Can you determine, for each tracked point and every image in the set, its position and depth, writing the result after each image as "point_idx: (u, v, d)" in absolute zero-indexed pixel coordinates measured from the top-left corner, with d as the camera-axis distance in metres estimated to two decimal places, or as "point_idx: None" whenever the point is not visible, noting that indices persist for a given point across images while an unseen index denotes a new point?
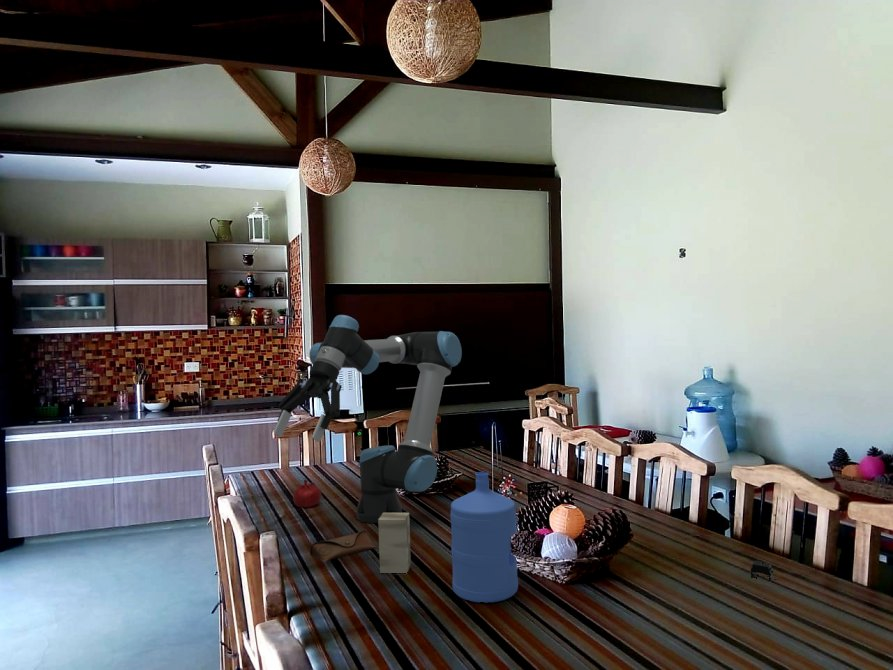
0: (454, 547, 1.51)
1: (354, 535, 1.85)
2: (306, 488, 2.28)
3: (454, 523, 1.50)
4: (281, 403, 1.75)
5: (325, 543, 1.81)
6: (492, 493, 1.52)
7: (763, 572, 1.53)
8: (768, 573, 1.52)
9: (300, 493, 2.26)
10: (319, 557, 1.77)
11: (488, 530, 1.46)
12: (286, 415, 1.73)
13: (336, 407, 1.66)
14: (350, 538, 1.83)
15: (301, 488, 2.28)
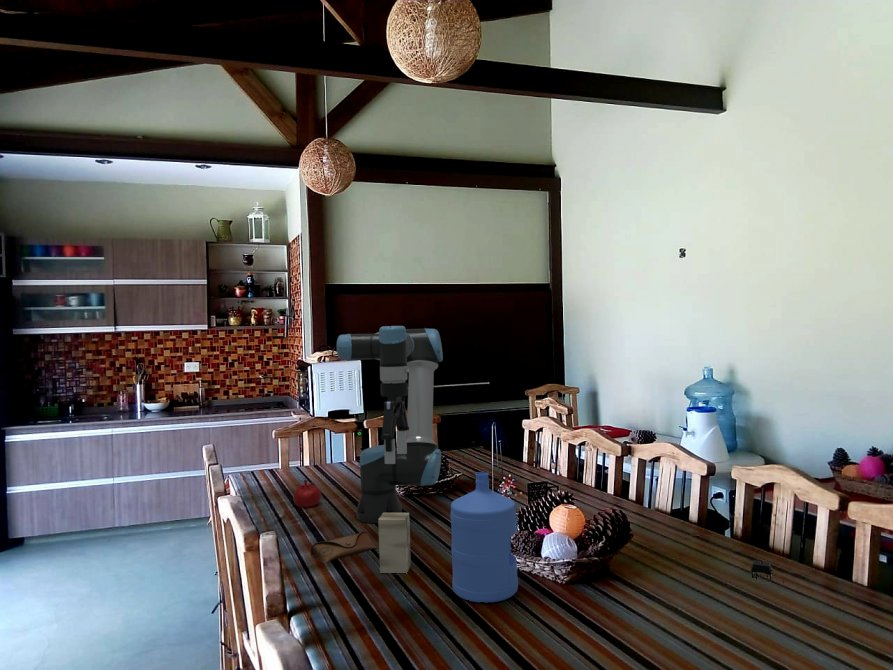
0: (454, 547, 1.51)
1: (355, 536, 1.85)
2: (306, 488, 2.28)
3: (454, 523, 1.50)
4: (391, 433, 1.69)
5: (326, 544, 1.80)
6: (492, 493, 1.52)
7: (764, 571, 1.53)
8: (769, 572, 1.53)
9: (300, 493, 2.26)
10: (320, 558, 1.76)
11: (488, 530, 1.46)
12: None
13: None
14: (351, 539, 1.83)
15: (301, 488, 2.28)
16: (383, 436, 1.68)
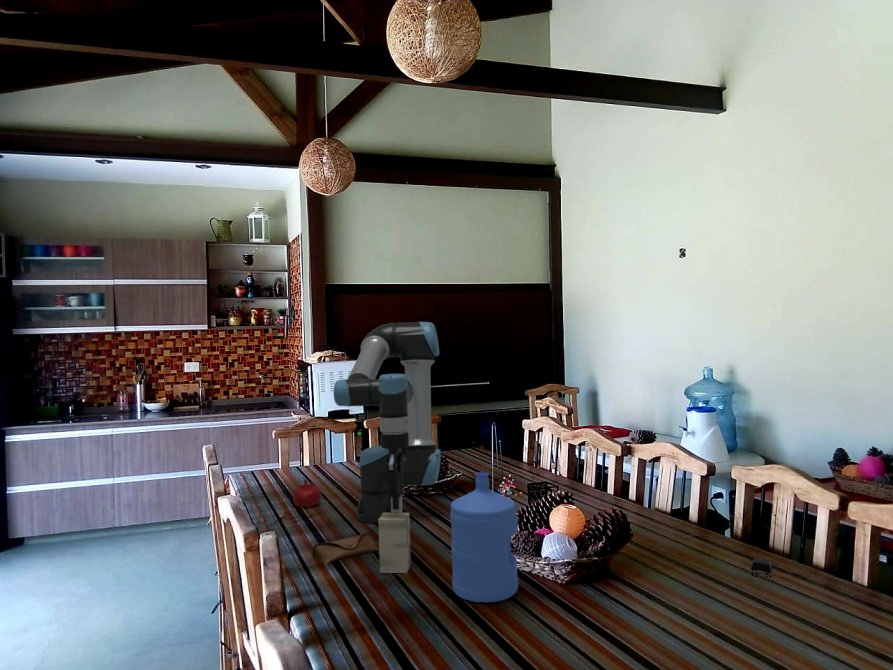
0: (454, 547, 1.51)
1: (357, 537, 1.84)
2: (306, 488, 2.28)
3: (454, 523, 1.50)
4: (398, 491, 1.68)
5: (327, 545, 1.79)
6: (492, 493, 1.52)
7: (764, 570, 1.54)
8: (769, 570, 1.54)
9: (300, 493, 2.26)
10: (321, 559, 1.75)
11: (488, 530, 1.46)
12: None
13: None
14: (353, 540, 1.82)
15: (301, 488, 2.28)
16: (390, 495, 1.68)
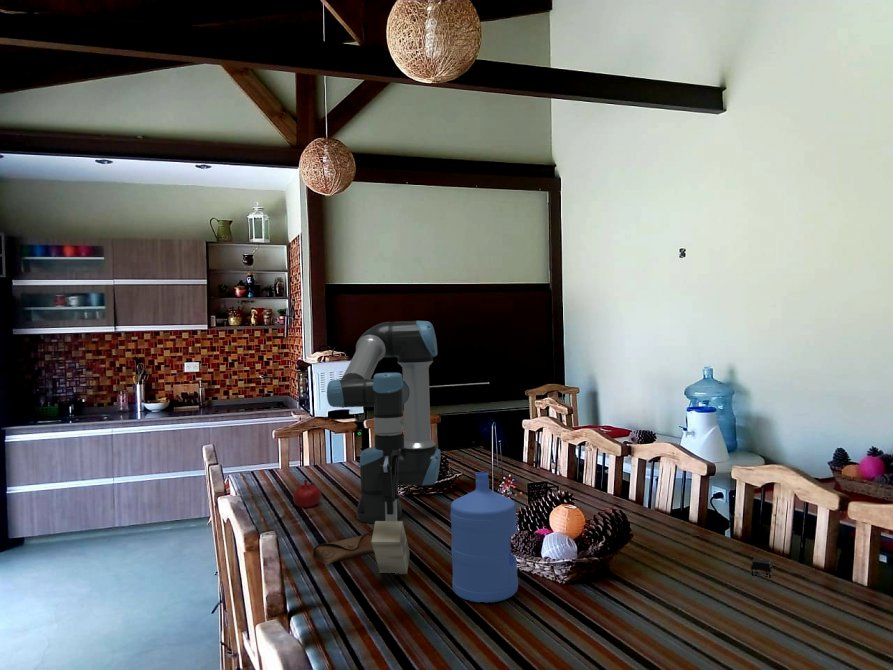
0: (454, 547, 1.51)
1: (358, 538, 1.83)
2: (306, 488, 2.28)
3: (454, 523, 1.50)
4: (392, 495, 1.61)
5: (328, 546, 1.78)
6: (492, 493, 1.52)
7: (764, 569, 1.55)
8: (769, 570, 1.54)
9: (300, 493, 2.26)
10: (322, 560, 1.75)
11: (488, 530, 1.46)
12: None
13: None
14: (353, 541, 1.81)
15: (301, 488, 2.28)
16: (385, 498, 1.61)
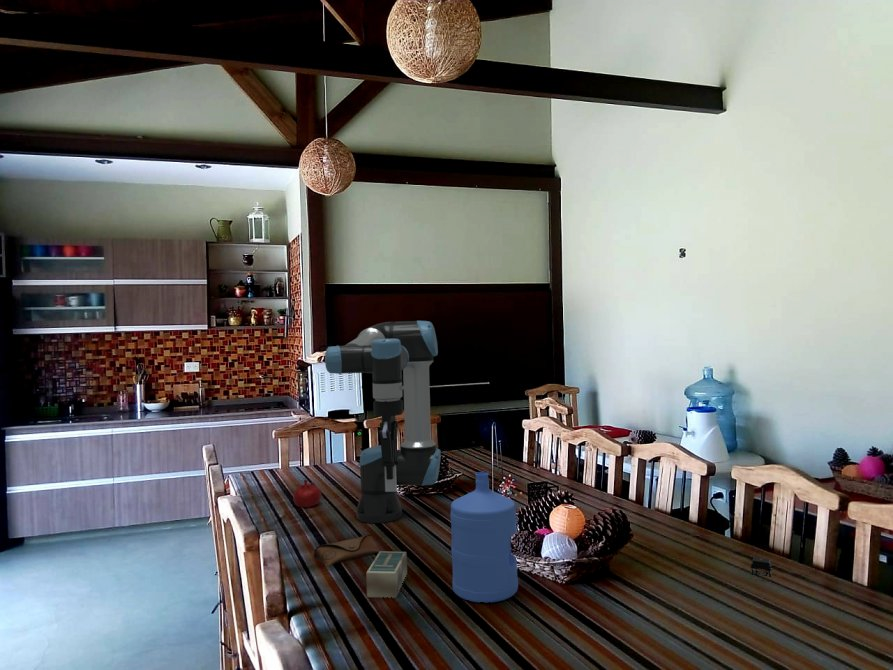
0: (454, 547, 1.51)
1: (359, 539, 1.82)
2: (306, 488, 2.28)
3: (454, 523, 1.50)
4: (392, 460, 1.62)
5: (329, 546, 1.78)
6: (492, 493, 1.52)
7: (763, 568, 1.55)
8: (768, 569, 1.55)
9: (300, 493, 2.26)
10: (322, 561, 1.74)
11: (488, 530, 1.46)
12: None
13: None
14: (355, 542, 1.80)
15: (301, 488, 2.28)
16: (384, 464, 1.61)
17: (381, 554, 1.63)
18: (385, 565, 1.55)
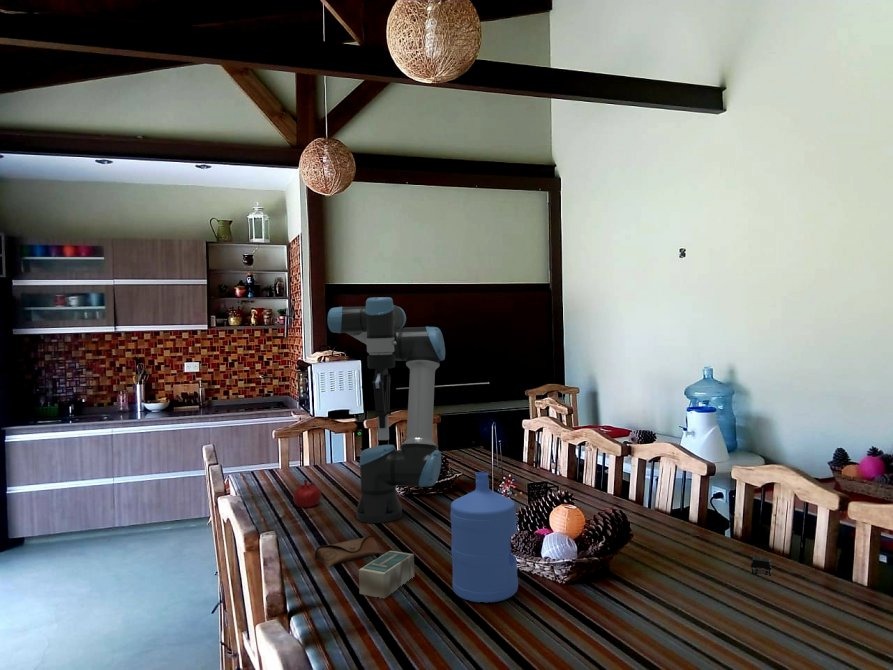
0: (454, 547, 1.51)
1: (360, 540, 1.81)
2: (306, 488, 2.28)
3: (454, 523, 1.50)
4: (384, 410, 1.73)
5: (330, 547, 1.77)
6: (492, 493, 1.52)
7: (763, 567, 1.56)
8: (768, 568, 1.55)
9: (300, 493, 2.26)
10: (323, 561, 1.73)
11: (488, 530, 1.46)
12: None
13: None
14: (356, 543, 1.80)
15: (301, 488, 2.28)
16: (377, 413, 1.73)
17: (388, 553, 1.63)
18: (380, 565, 1.55)
